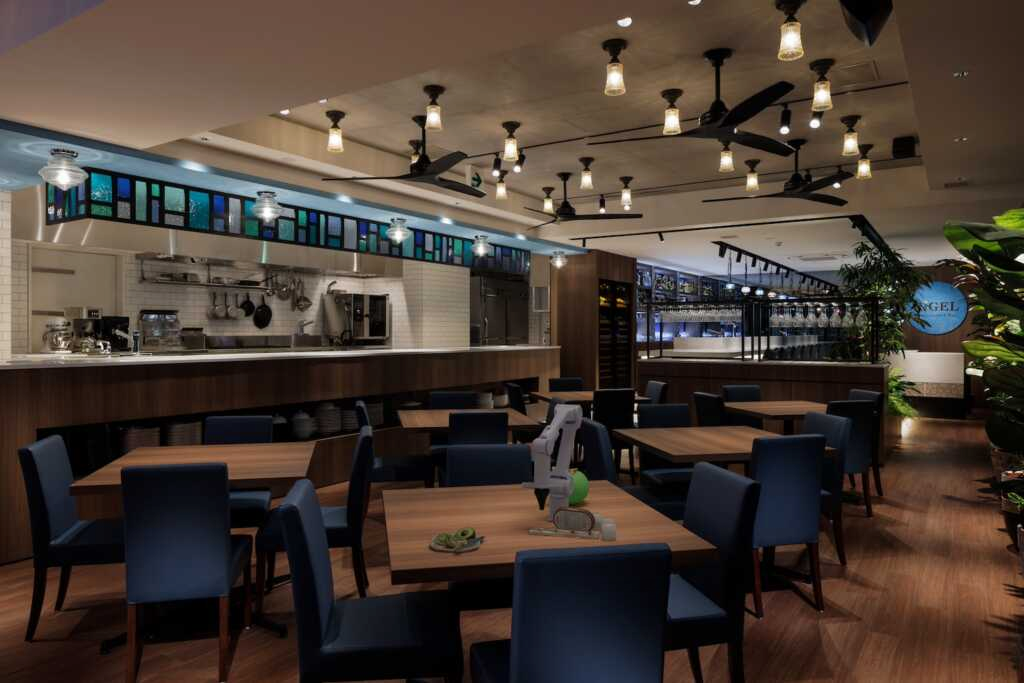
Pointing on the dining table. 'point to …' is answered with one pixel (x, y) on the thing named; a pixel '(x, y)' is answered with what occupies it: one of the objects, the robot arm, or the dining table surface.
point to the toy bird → (578, 486)
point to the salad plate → (457, 541)
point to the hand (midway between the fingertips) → (541, 509)
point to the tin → (573, 519)
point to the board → (565, 533)
